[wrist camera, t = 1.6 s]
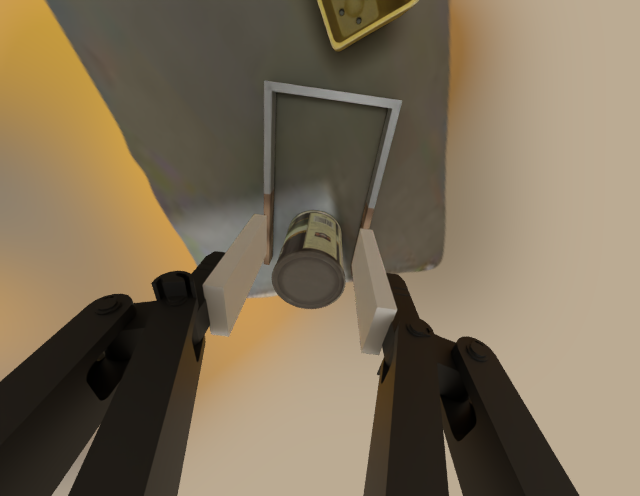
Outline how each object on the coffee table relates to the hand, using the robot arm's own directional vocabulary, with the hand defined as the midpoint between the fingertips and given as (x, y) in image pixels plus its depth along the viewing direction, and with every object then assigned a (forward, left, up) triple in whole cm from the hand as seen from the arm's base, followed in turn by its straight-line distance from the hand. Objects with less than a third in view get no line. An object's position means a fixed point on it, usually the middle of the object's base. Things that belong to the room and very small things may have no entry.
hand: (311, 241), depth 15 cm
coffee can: (+14, 0, -27) cm, 30 cm away
